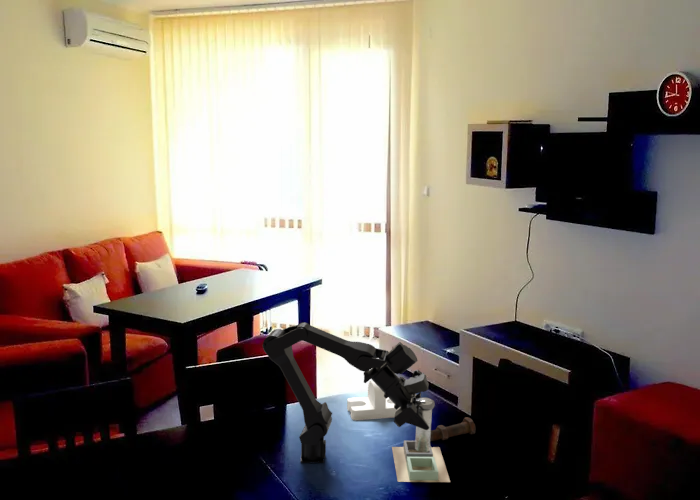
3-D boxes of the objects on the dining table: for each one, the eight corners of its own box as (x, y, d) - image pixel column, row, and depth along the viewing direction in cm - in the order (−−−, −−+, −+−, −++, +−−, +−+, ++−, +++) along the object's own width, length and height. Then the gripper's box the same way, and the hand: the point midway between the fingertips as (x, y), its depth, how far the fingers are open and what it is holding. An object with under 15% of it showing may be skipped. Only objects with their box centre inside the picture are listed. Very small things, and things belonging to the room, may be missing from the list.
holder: (406, 461, 176) (406, 453, 176) (403, 448, 184) (403, 440, 183) (432, 462, 177) (432, 454, 176) (428, 448, 184) (429, 440, 183)
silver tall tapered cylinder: (412, 452, 171) (414, 404, 168) (413, 442, 176) (416, 396, 173) (431, 454, 170) (434, 406, 167) (432, 444, 175) (435, 397, 172)
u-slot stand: (346, 408, 211) (347, 377, 209) (398, 404, 215) (399, 374, 213) (352, 421, 202) (353, 389, 200) (406, 417, 206) (407, 386, 204)
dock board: (397, 485, 167) (397, 481, 167) (391, 449, 185) (391, 446, 184) (450, 485, 167) (450, 482, 167) (439, 450, 185) (439, 447, 185)
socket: (409, 480, 167) (409, 471, 167) (406, 464, 175) (406, 456, 174) (437, 480, 168) (438, 471, 167) (433, 465, 175) (434, 456, 175)
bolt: (427, 447, 190) (469, 436, 196) (435, 446, 186) (477, 435, 192) (422, 427, 192) (464, 417, 198) (430, 426, 187) (472, 416, 193)
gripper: (408, 379, 160) (450, 424, 160) (414, 353, 178) (451, 393, 178) (376, 405, 163) (417, 448, 163) (385, 376, 181) (422, 416, 181)
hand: (428, 425), depth 171 cm, fingers closed on silver tall tapered cylinder, 4 cm apart
